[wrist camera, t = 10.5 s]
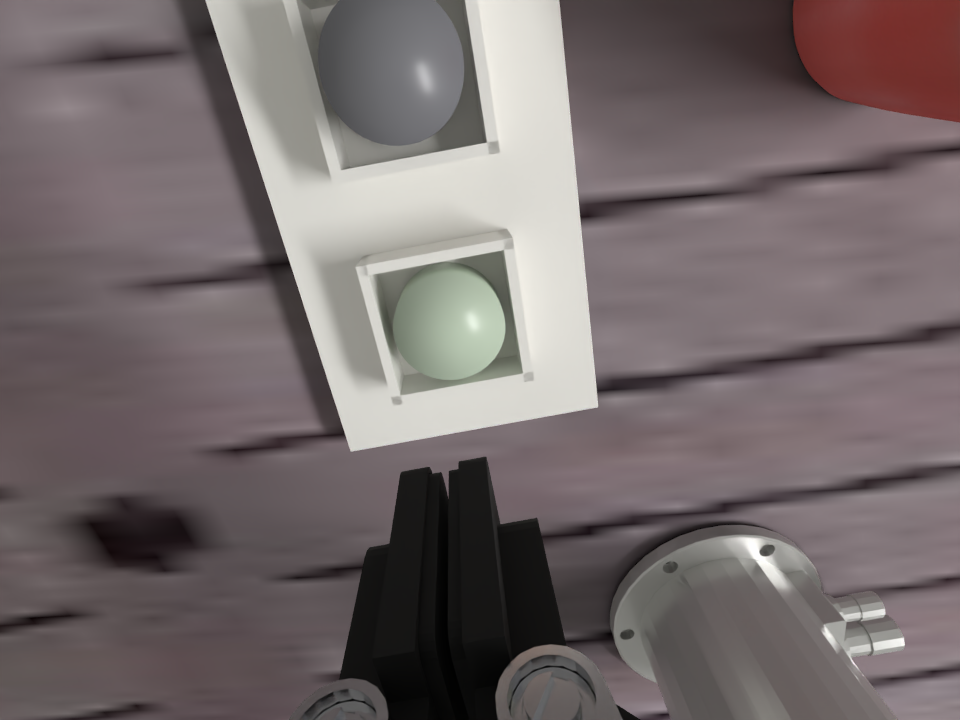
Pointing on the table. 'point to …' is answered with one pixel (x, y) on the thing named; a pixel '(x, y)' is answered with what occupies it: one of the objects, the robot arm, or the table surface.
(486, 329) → the sage button
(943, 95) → the flower pot
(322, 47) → the charcoal button
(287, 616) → the table surface
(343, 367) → the button board
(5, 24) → the table surface
